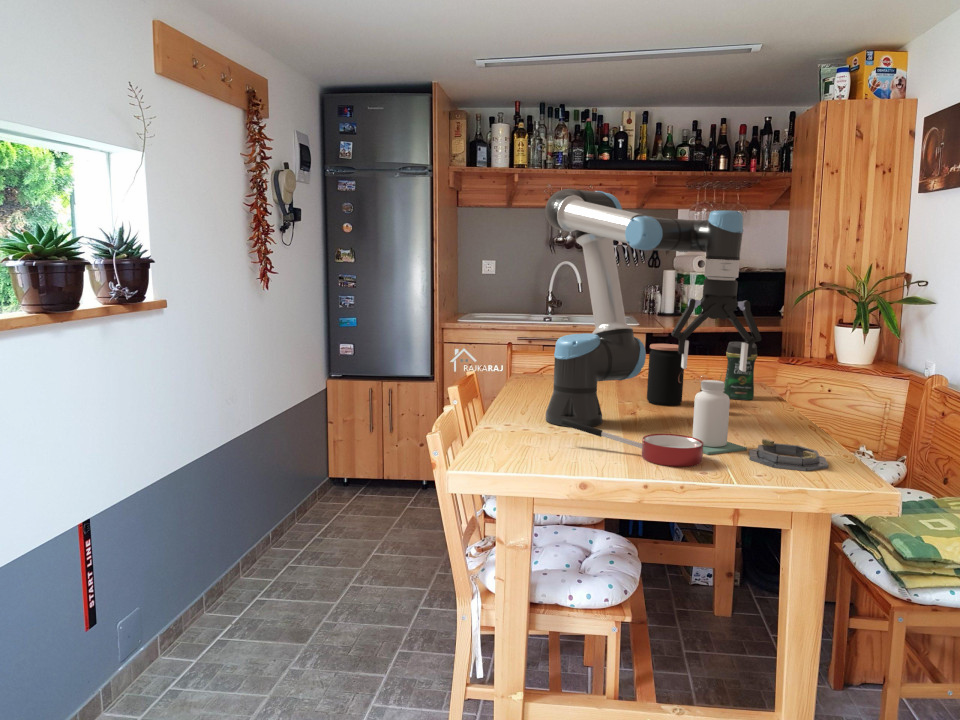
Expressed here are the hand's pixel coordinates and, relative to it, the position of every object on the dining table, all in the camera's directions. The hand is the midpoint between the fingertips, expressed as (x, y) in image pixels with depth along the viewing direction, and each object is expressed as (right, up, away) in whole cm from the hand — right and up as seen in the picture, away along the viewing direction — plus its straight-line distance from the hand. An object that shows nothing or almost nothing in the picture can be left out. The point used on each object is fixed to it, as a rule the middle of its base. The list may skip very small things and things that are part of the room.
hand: (713, 369), depth 173 cm
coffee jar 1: (+2, -11, +55) cm, 57 cm away
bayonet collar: (+14, -20, -9) cm, 26 cm away
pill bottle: (0, -18, +2) cm, 18 cm away
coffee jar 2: (+30, -11, +68) cm, 75 cm away
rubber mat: (0, -18, +2) cm, 18 cm away
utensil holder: (+12, -13, +42) cm, 46 cm away
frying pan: (-21, -19, -7) cm, 30 cm away
